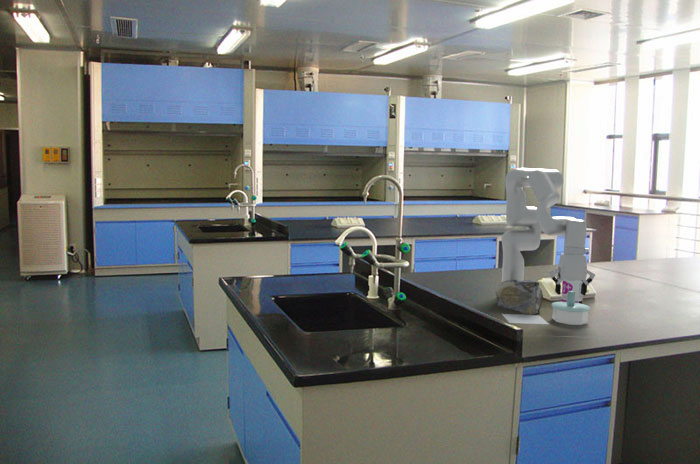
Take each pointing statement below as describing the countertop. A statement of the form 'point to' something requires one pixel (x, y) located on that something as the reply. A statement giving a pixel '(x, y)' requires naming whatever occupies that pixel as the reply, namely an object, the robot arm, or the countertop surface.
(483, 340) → the countertop surface
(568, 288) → the supplement can
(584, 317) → the bowl
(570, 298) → the lid
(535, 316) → the mat
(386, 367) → the countertop surface
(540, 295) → the fossil rock
